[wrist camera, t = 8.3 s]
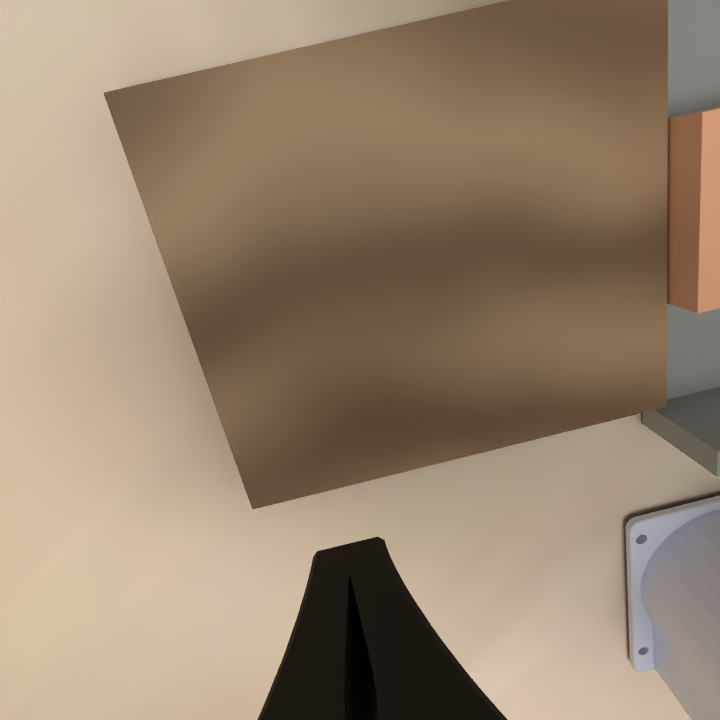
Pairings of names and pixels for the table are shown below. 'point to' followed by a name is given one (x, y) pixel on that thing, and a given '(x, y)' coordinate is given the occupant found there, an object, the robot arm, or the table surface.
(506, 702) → the table surface
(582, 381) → the walnut board
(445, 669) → the robot arm
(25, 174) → the table surface
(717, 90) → the grey box
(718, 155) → the terracotta tile
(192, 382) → the table surface
